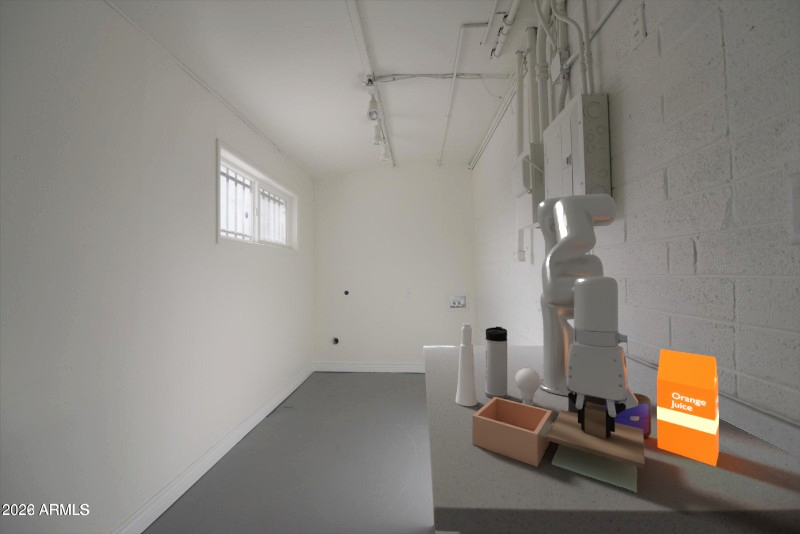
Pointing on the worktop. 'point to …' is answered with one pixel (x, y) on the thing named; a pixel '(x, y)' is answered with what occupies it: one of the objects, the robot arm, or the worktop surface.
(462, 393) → the cosmetic bottle
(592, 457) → the mat
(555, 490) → the worktop surface
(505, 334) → the travel mug
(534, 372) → the lightbulb
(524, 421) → the salmon open box
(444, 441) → the worktop surface
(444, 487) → the worktop surface
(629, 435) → the lid
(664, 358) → the orange juice
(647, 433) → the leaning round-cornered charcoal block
